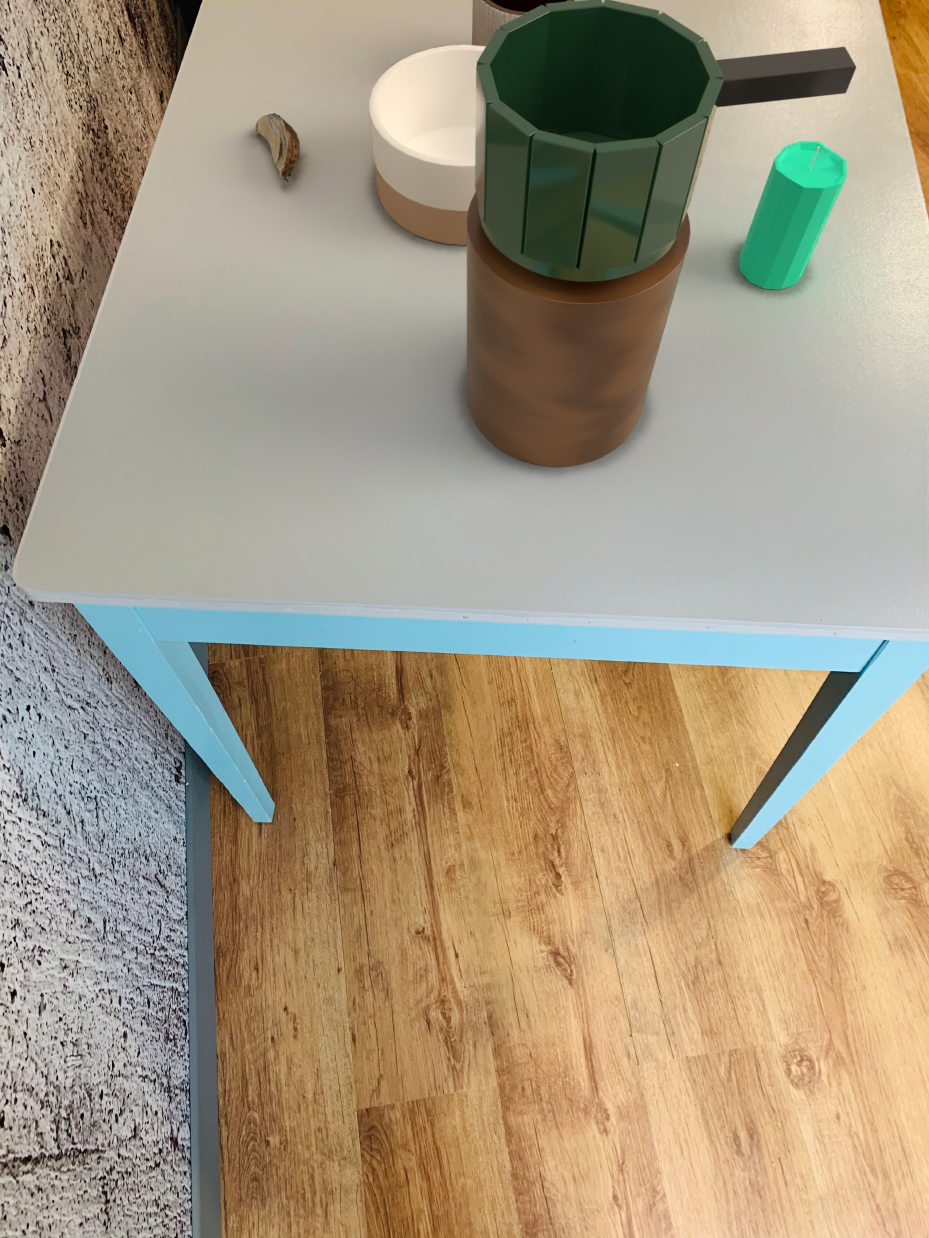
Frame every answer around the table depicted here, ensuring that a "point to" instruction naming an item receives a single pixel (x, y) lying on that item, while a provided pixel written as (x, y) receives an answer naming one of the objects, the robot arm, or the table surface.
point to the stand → (561, 352)
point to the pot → (610, 130)
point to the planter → (499, 15)
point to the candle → (791, 214)
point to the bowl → (427, 141)
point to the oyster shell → (280, 142)
